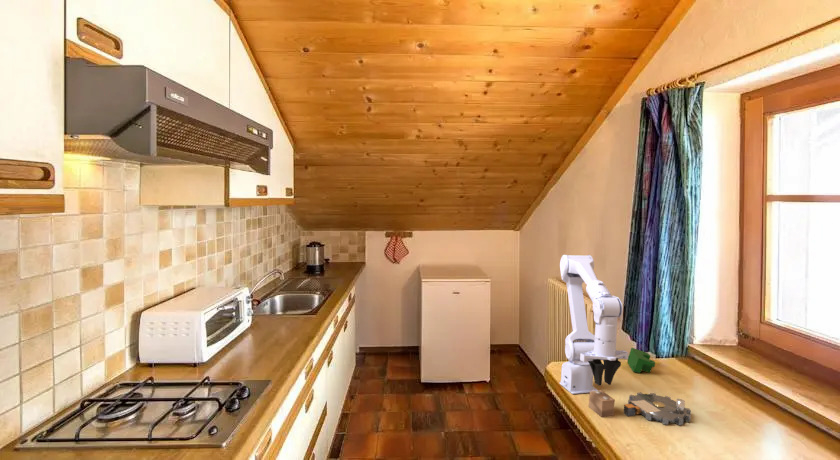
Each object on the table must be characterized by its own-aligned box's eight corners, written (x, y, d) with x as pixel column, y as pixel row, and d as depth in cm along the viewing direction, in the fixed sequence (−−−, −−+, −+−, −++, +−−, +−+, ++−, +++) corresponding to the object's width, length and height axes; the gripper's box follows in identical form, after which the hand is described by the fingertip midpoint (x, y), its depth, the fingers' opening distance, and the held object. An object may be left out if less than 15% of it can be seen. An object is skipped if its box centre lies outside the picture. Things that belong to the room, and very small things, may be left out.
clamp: (646, 385, 153) (657, 367, 149) (629, 379, 155) (639, 361, 150) (643, 361, 163) (652, 344, 159) (626, 356, 165) (636, 339, 160)
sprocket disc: (619, 408, 126) (620, 392, 126) (640, 392, 137) (641, 377, 137) (680, 431, 114) (681, 413, 114) (698, 411, 125) (699, 395, 125)
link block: (613, 416, 122) (614, 399, 122) (601, 417, 122) (602, 400, 121) (600, 406, 128) (601, 389, 128) (588, 407, 127) (589, 390, 127)
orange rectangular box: (627, 416, 122) (628, 407, 122) (623, 413, 124) (624, 404, 124) (635, 415, 123) (635, 406, 123) (630, 412, 125) (631, 403, 124)
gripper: (591, 344, 118) (588, 391, 119) (636, 341, 121) (633, 387, 122) (576, 336, 124) (574, 381, 126) (620, 333, 128) (617, 377, 129)
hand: (602, 383), depth 124 cm, fingers open, 3 cm apart
